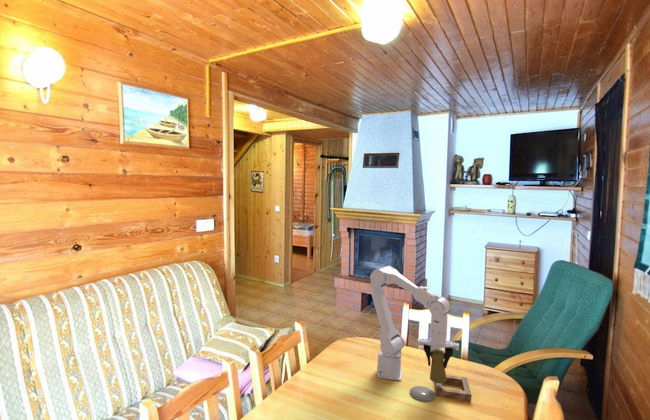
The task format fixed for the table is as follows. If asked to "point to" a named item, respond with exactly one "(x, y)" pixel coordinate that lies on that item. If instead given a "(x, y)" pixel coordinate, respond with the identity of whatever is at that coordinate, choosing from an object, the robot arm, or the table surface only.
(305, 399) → the table surface
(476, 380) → the table surface
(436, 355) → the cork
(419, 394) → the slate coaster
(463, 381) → the walnut holder
